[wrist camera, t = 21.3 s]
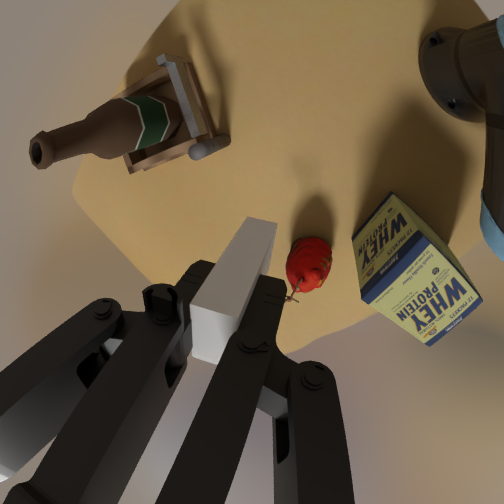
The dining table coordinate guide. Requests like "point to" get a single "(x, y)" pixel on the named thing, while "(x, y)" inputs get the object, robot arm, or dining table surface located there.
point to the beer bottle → (110, 130)
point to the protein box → (411, 273)
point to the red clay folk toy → (308, 265)
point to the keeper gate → (184, 93)
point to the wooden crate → (183, 141)
